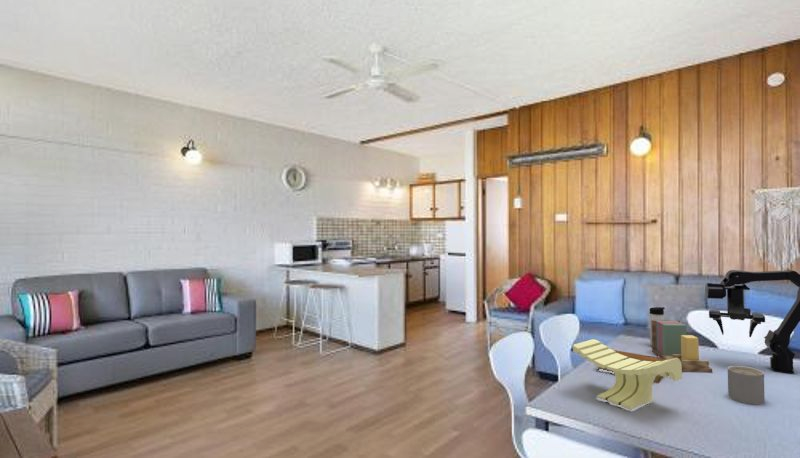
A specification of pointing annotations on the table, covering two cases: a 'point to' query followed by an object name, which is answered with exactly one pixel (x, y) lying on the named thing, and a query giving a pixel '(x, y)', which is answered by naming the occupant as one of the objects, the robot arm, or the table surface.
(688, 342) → the pale yellow cuboid
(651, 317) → the travel mug
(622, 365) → the slatted curved stool
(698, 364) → the shelf slot board
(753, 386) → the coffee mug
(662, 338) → the book row
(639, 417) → the table surface
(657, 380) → the diary
